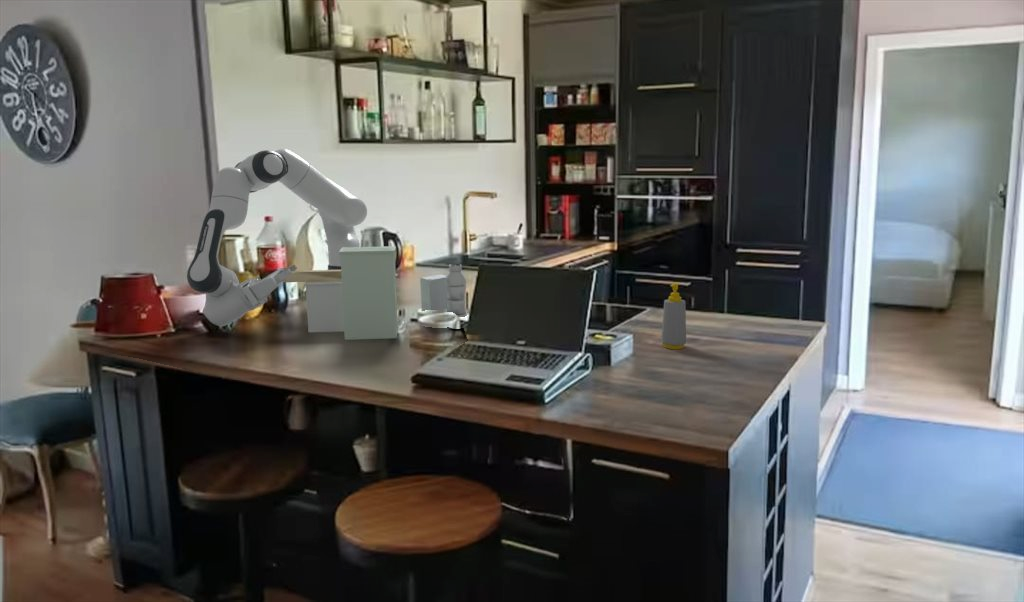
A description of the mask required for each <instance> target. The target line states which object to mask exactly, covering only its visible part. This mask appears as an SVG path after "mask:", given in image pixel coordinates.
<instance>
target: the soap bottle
mask: <svg viewBox="0 0 1024 602" xmlns="http://www.w3.org/2000/svg"><path fill="white" fill-rule="evenodd" d="M679 284H680V282H677V281H675V282H673V283H672V284H670V287H671V288H672V291H673V292H670V295H669V296H668V299H664V300H663V314H662V324H661V326H662V327H661V336H660V337H661V339H660V340H661V341H660V342H661V343H662V346H663V348H665V349H670V350H680V349H683V348H684V347H685V344H687V318H686V317H687V316H686V314H687V312H686V311H687V310H686V309H687V308H686V306H687V305H686V300H684V299H682V297H681V296H680V292H677V291H678V289H679Z"/></svg>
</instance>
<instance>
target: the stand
mask: <svg viewBox="0 0 1024 602" xmlns="http://www.w3.org/2000/svg"><path fill="white" fill-rule="evenodd" d="M396 249H397V248H396V245H394V246H392V245H389V246H360V247H343V248H342V249H341V250H340V251H339V254H340V256H341V275H342V295H343V315H344V331H343V332H344V333H343V334H344V341H347V340H349V341H350V340H353V341H354V340H356V341H357V340H379V339H397V338H398V333H399V329H398V324H399V323H398V304H397V302H398V300H397V282H396V281H397V275H396Z"/></svg>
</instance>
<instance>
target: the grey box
mask: <svg viewBox="0 0 1024 602" xmlns="http://www.w3.org/2000/svg"><path fill="white" fill-rule="evenodd" d="M304 287H305V296H306V297H305V299H306V312H307V331H308V332H307V333H311V334H312V333H335V332H336V333H339V332H344V315H343V295H342V281H315V282H304Z"/></svg>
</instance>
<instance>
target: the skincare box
mask: <svg viewBox="0 0 1024 602" xmlns="http://www.w3.org/2000/svg"><path fill="white" fill-rule="evenodd" d="M447 276H448V275H445V274H441V273H440V274H435V275H430V276H423V277H420V281H419V282H420V301H421V307H420V308H421V312H422V311H425V310H444V309H447V294H446V288H445V279H446V278H447Z"/></svg>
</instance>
